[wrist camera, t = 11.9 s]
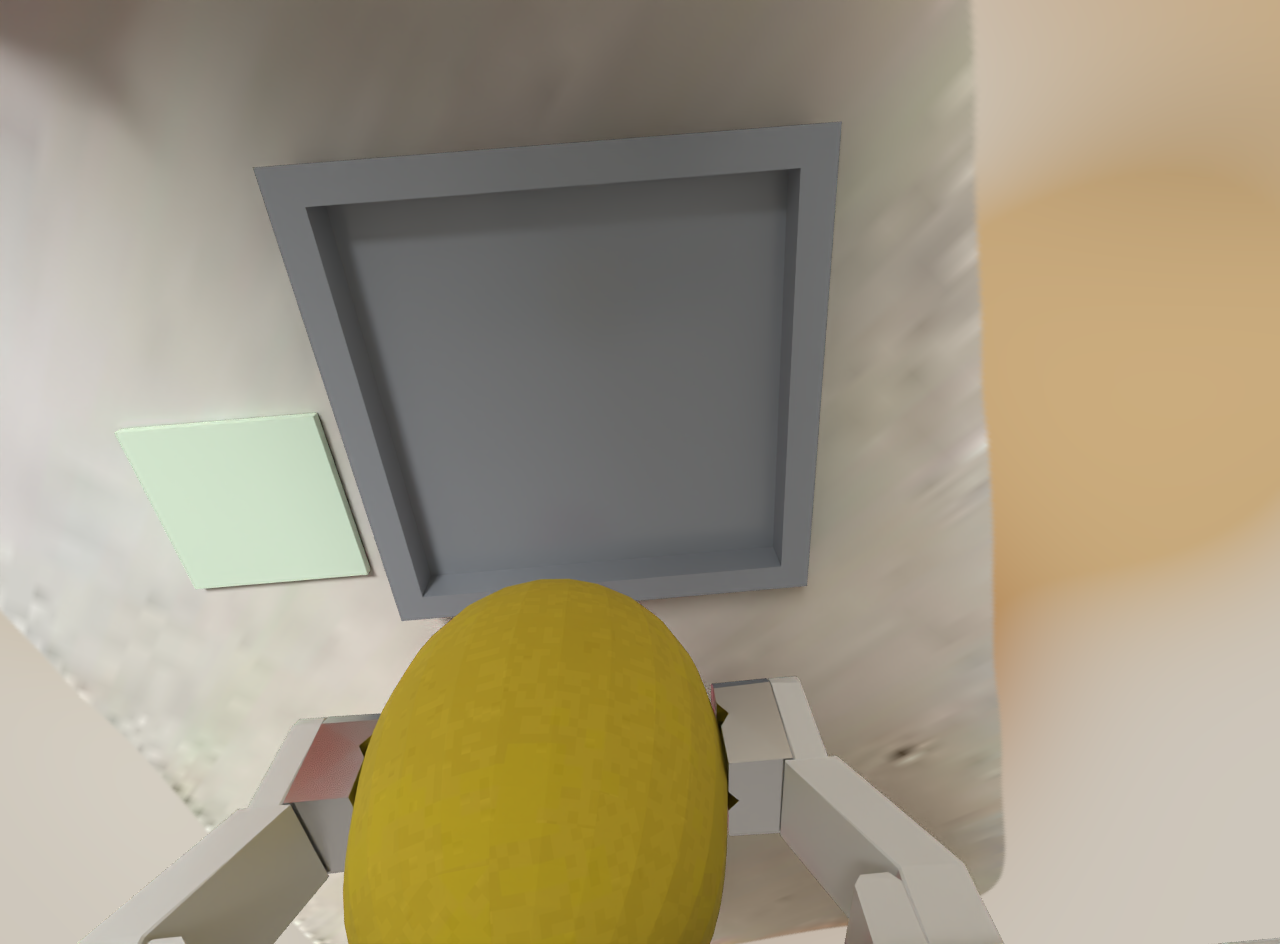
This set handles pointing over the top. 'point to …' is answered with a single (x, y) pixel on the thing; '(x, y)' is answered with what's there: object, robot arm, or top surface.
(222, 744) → the top surface
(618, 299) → the slate tray
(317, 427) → the green mat
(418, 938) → the lemon
